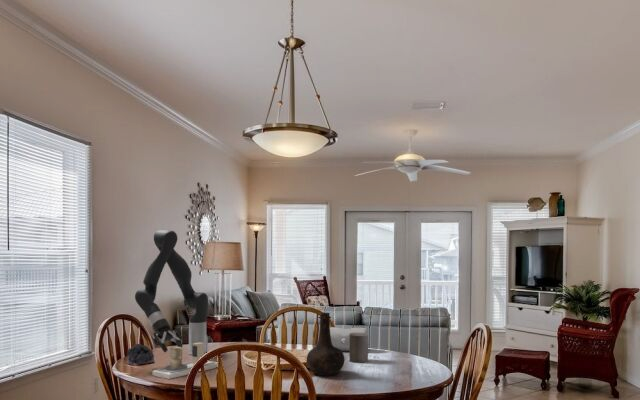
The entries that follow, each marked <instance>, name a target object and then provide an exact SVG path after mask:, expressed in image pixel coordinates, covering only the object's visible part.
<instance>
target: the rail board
mask: <svg viewBox="0 0 640 400" xmlns="http://www.w3.org/2000/svg"><path fill="white" fill-rule="evenodd" d="M203 355H204V356H205V354H204V343H200V342H198V343H193V346H192V355H191V356H192V360H191V361H188V362H184V363H182V366H181V367H176V368H174V367H170V364H169V365H166V366H165V367H161V368H157V369H155V370H152V376H153V377H159V378H163V379H167V380H171V379H175V378H179V377H183V376H189V375H190V374H189V372H190V370H191V368H192V367H193V365H194V364H195V363H196V362H197V361H198V359H199V358H200V357H202V356H203ZM207 361H208V362H207V363H206V364H205V365H204V367H205V370H204V371H207V370H213V369H216V367H217V363H218V362H216V361H211V360H207ZM217 368H218V367H217Z"/></svg>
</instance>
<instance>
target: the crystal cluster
mask: <svg viewBox="0 0 640 400" xmlns="http://www.w3.org/2000/svg"><path fill="white" fill-rule="evenodd" d="M154 361H155V355H154V354H153V350H152V349H151V348H149V347H148V346H147V345H143V344H141V343H135V344H134V345H133V346H132V347H130V348H128V349H127V351H126V362H127V365H131V366H139V365H145V364H146V365H147V364H150V363H153V362H154Z"/></svg>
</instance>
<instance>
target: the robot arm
mask: <svg viewBox="0 0 640 400" xmlns="http://www.w3.org/2000/svg"><path fill="white" fill-rule="evenodd" d="M153 242H154V245H155V246H156V248H157V249H158V251H159V253H158V255H157V256H156V257H155V259H154V260H153V261H152V263H151V264H150V265H149V266H148V268H147V270H146V273H145V276H144V278H143V282H142V283H143V285H144V286H145V287H144V289H143V288H141V289H138V290H137V291H136V292H135V294H134V299H135V301H136V303H137V305H138V307H139V308H140V309H141V310H142V311H143V313H144V314H145V316H146V318H147V320H148V321H149V325H150V326H151V328H152V330H153V332H154V333H153V334H152V335H151V339H152V341H153V343H154V345H155V346H156V347H160V348H161V350H162V351H163V352H164V353H167V352H168V347H167V345H166V343H165V342H167V341H170V342H174V343H175V345H176V347H182V348H183V344H182V342H181V340H183V337H182V335H181V333H180V331H179V330H178V329H177V328H176V329H174V330H172V329H171V325H170V324H169V321H168V320H167V318H166V317H165V314H164V313H163V312H162V311H161V308H160V307H159V305H158V304H156V303H155V300H156V297H157V289H158V283H159V280H160V278H161V275H162V272H163V270H164V267H165V266H166V264H167V266H168V267H169V269H170V271H171V274H172V275H173V276H172V277H174V280H175V281H176V283H177V285H178V287H179V289H180V291H181V293H182V296H183V299H184V301H185V304H186V305H187V307H188V308H189V309H192V310H195V313H194V314H193V315H191V316H190V317H189V318H188V319H189V320H188V322H189V323H188V324H189V325H188V354H189V355H191V356H192V346H193V343H198V342H200V343H204V355H206V354H207V353H208V345H209V343H208V339H209V337H208V334H207V318H208V315H209V312H208V311H209V296H208V295H207V293H205V292H198V291H197V292H196V291H195V290H194V288H193V286H192V283H191V282H192V271H191V268H190V266H189V265H188V262H187V261H186V259H184V258H183V257H182V256H181V255H180V254H179V252H177V251H176V250H175V247H176V245H177V242H178V234H177V233H176V232H175V231H174V230H170V229H169V230H167V229H159V230H157V231H155V233H154V234H153ZM206 352H207V353H206Z"/></svg>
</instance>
